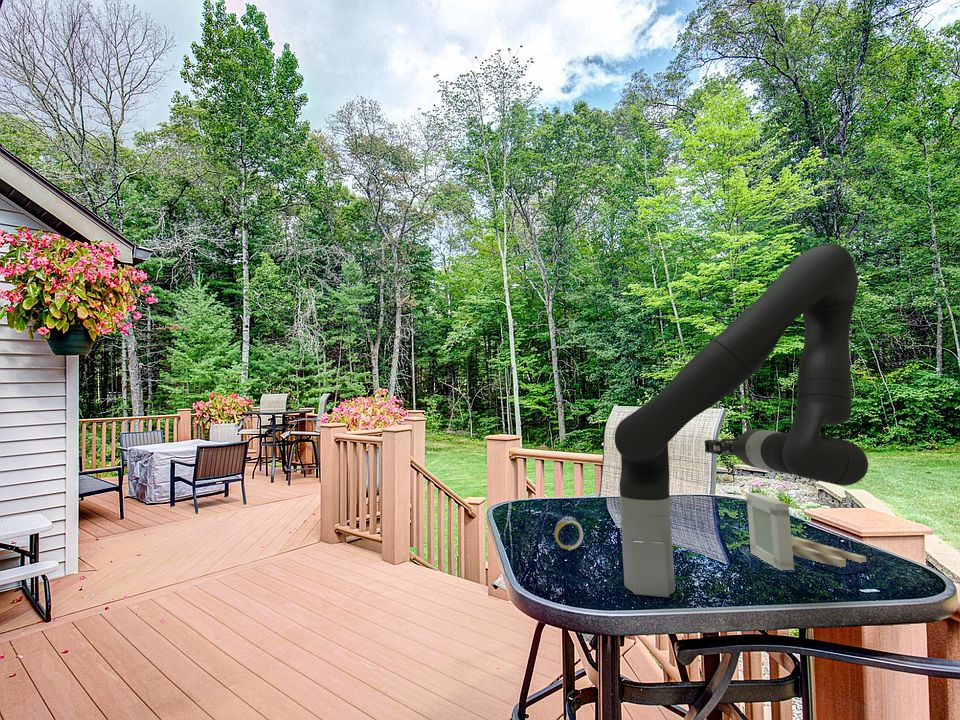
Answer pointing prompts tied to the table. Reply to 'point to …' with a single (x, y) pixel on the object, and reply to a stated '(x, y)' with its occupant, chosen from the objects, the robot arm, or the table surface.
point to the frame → (770, 531)
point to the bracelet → (560, 525)
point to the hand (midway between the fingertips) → (728, 444)
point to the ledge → (823, 553)
